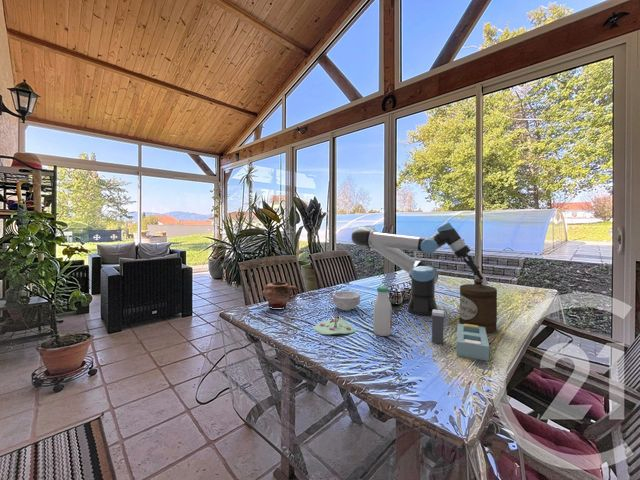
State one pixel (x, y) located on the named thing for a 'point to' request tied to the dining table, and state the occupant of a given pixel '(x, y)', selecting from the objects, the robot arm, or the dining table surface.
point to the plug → (437, 326)
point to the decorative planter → (278, 294)
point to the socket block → (472, 342)
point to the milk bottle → (382, 313)
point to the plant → (334, 327)
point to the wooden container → (478, 305)
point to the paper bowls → (346, 300)
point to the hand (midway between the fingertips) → (485, 282)
